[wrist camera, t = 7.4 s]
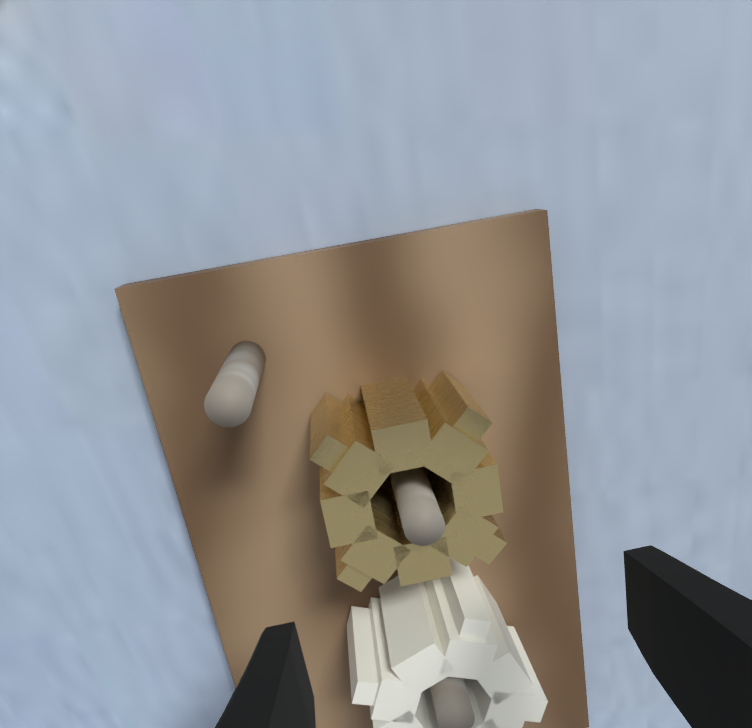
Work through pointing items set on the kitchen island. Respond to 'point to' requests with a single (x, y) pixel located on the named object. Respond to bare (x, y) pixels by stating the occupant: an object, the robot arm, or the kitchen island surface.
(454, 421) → the brass gear
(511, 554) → the gear board
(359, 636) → the nylon gear
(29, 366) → the kitchen island surface
